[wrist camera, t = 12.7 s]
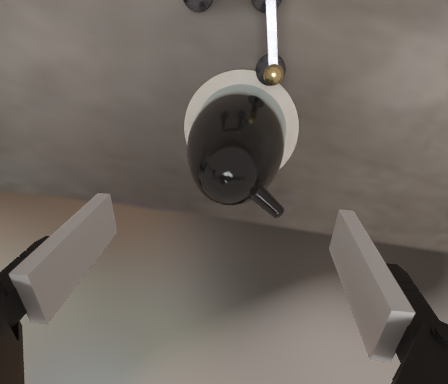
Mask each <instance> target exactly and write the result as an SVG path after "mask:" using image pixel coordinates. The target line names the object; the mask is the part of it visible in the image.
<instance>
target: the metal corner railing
mask: <svg viewBox="0 0 448 384" xmlns="http://www.w3.org/2000/svg"><path fill="white" fill-rule="evenodd" d="M183 1H184V3H185V4H186V6H187V7H188V8H190V9H191V10H193V11H195V12H202V11H205V10H206V9H208V8H209V6H210V5H211V3H212V1H213V0H183ZM281 1H282V0H252V3H253V5H254V7H255V8H256V9H257V10H258V11H260V12H263V13H266V25H267V47H268V55H265V56H264V57H262V58H261V59H260V60H259V62H258V64H257V66H256V76H257V78H258V80H259V81H260V82H261V83H262V84H264V85H266V86H275V85H278V84H279V83H280V82H281V81H282V80H283V77H284V74H285V64H284V62H283V60H282V59H281V58H280V57H279V56H278V54H277V22H276V8H277V7H278V6H279V4H280V3H281Z"/></svg>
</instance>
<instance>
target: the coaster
mask: <svg viewBox="0 0 448 384" xmlns="http://www.w3.org/2000/svg"><path fill="white" fill-rule="evenodd" d="M229 92H247V93H251V94H254V95H256V96H259V97H261V98H262V99H264V100H265V101H267V102H268V103H269V104H270V105H271V106H272V107H273V108H274V109H275V111H276V112H277V114H278V115H279V117H280V119H281V122H282V124H283V128H284V133H285V148H284V154H283V159H282V162H281V165H280V168H281V167H282V166H283V165H284V164H285V163H286V162H287V161H288V159H289V158H290V156H291V154H292V153H293V151H294V148H295V146H296V143H297V139H298V133H299V120H298V115H297V111H296V108H295V105H294V103H293V101H292V99H291V97H290V96H289V94H288V93H287V91H286V90H285V89H284V88H283V87H282V86H281V85H280V84H278V85H275V86H266V85H264V84H262V83H261V82H260V81H259V80H258V78H257V76H256V71H253V70H245V69H241V70H231V71H227V72H224V73H221V74H218V75H216V76H214V77H213V78H211V79H210V80H208V81H207V82H205V83H204V84H203V85H202V86H201V87H200V88H199V89H198V90H197V92H196V93H195V94H194V96H193V97H192V99H191V101H190V103H189V105H188V108H187V111H186V115H185V121H184V132H185V139H186V143H187V142H188V136H189V132H190V129H191V126H192V123H193V121H194V119H195V117H196V115H197V114H198V112H199V111H200V110H201V109H202V108H203V106H204V105H205V104H207V103H208V102H209V101H210V100H212V99H213V98H215V97H217V96H219V95H222V94H225V93H229ZM280 168H279V169H280Z"/></svg>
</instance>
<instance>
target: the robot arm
mask: <svg viewBox="0 0 448 384" xmlns="http://www.w3.org/2000/svg"><path fill="white" fill-rule="evenodd" d="M116 234H117V227H116V222H115V217H114V212H113V207H112V201H111V196H110V194H103V193H97V194H96V195H95V196H94V197H93V198H92V199H91V200H90V201H88V202H87V203H86V204H85V205H84V206H83V207H82V208H81V209H80V210H79V211H77V212H76V213H75V214H74V215H73V216H72V217H71V218H70V219H69V220H67V221H66V222H65V223H64V224H63V225H62V226H61V227H60V228H59V229H58V230H56V231H55V232H54V233H53V234H52V235H51V236H46V237H44V238H42V239H40V240H38V241H36V242H34V243H33V244H32V245H31V246H30V247H29V248H28V249H27V250H26V251H24V252H23V253H22V254H21V255H20V257H17V258H16V259H15V260H14V261H13V262H11V263H10V264H9V265H8V266H7V267H6V268H5V269H3V270H2V271H1V272H0V384H24V362H23V337H22V325H21V323H20V319H21V318H22V317H23V316H24V315H25V314H26V313H27V316H28V318H29V320H30V322H32V323H40V324H48V323H49V322H50V321H51V319H52V318H53V317H54V315H55V314H56V313H57V311H58V310H59V309H60V307H61V306H62V305H63V303H64V302H65V301H66V299H67V298H68V297H69V296H70V294H71V293H72V292H73V290H74V289H75V288H76V286H77V285H78V284H79V282H80V281H81V279H82V278H83V277H84V276H85V274H86V273H87V272H88V270H89V269H90V268H91V267H92V265H93V264H94V263H95V261H96V260H97V259H98V257H99V256H100V255H101V253H102V252H103V251H104V249H105V248H106V247H107V245H108V244H109V243H110V241H111V240H112V239H113V237H114V236H115V235H116ZM329 250H330V253H331V255H332V258H333V261H334V264H335V266H336V269H337V272H338V275H339V277H340V280H341V283H342V285H343V288H344V291H345V294H346V296H347V299H348V302H349V304H350V307H351V310H352V312H353V315H354V318H355V321H356V323H357V326H358V329H359V331H360V334H361V337H362V340H363V342H364V345H365V348H366V351H367V353H368V356H369V359H370V360H374V361H383V362H391V361H392V359H393V357H394V355H395V353H396V354H397V356H398V358H399V360H400V363H401V364H400V366H399V368H398V370H397V372H396V374H395V376H394V377H393V379H392V380H393V381H392V383H391V384H448V324H446V323H444V322H441V321H440V320H439V319H438V318H437V316H436V315H435V313H434V312H433V310H432V309H431V307H430V306H429V304H428V303H427V301H426V300H425V299H424V297H423V295H422V294H421V293H420V292H419V290H418V288H417V287H416V285H415V284H414V283H413V281H412V279H411V278H410V276H409V275H408V273H407V272H405V271H404V270H403V269H402V268H401V267H399V266H398V265H397V264H386V263H385V262H384V260H383V259H382V257H381V255H380V254H379V252H378V250H377V249H376V247H375V245H374V244H373V242H372V240H371V239H370V237H369V235H368V234H367V232H366V231H365V229H364V227H363V226H362V224H361V222H360V221H359V219H358V217H357V216H356V214H355V212H354V211H353V210H339V211H338V215H337V220H336V224H335V228H334V232H333V236H332V240H331V244H330V248H329Z"/></svg>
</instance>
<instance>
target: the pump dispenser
mask: <svg viewBox="0 0 448 384" xmlns="http://www.w3.org/2000/svg"><path fill="white" fill-rule="evenodd" d="M284 148H285V133H284V128H283V124H282V122H281V119H280V117H279V115H278V114H277V112H276V111H275V109H274V108H273V107H272V106H271V105H270V104H269V103H268V102H267V101H265V100H264V99H262V98H261V97H259V96H256V95H254V94H251V93H247V92H229V93H225V94H222V95H219V96H217V97H215V98H213V99H212V100H210V101H209V102H208V103H207V104H205V105H204V106H203V108H202V109H201V110H200V111H199V112H198V114H197V115H196V117H195V119H194V121H193V123H192V126H191V129H190V132H189V136H188V142H187V158H188V164H189V168H190V172H191V175H192V178H193V180H194V182H195V184H196V185H197V187H198V188H199V190H200V191H201V192H202V193H203V194H204V195H205V196H206V197H207V198H209V199H210V200H212V201H214V202H216V203H219V204H222V205H239V204H243V203H246V202H248V201H250V200H253V201H254V202H256V203H257V204H258V205H259V206H261V207H262V208H263V209H264V210H266V211H267V212H268V213H269V214H271V215H272V216H273V217H274V218H278V217H280V216H281V215H282V214H283V212H284V208H283V207H282V206H281V205H280V204H279V203H278V202H277V200H276V199H275V198H274V197H273V196H272V195H271V194H270V193H269V192H268V191H267V190H266V188H267V187H268V186H269V185H270V183H271V182H272V181H273V179H274V178H275V176H276V174H277V172H278V170H279V168H280V165H281V162H282V159H283V154H284Z"/></svg>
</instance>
